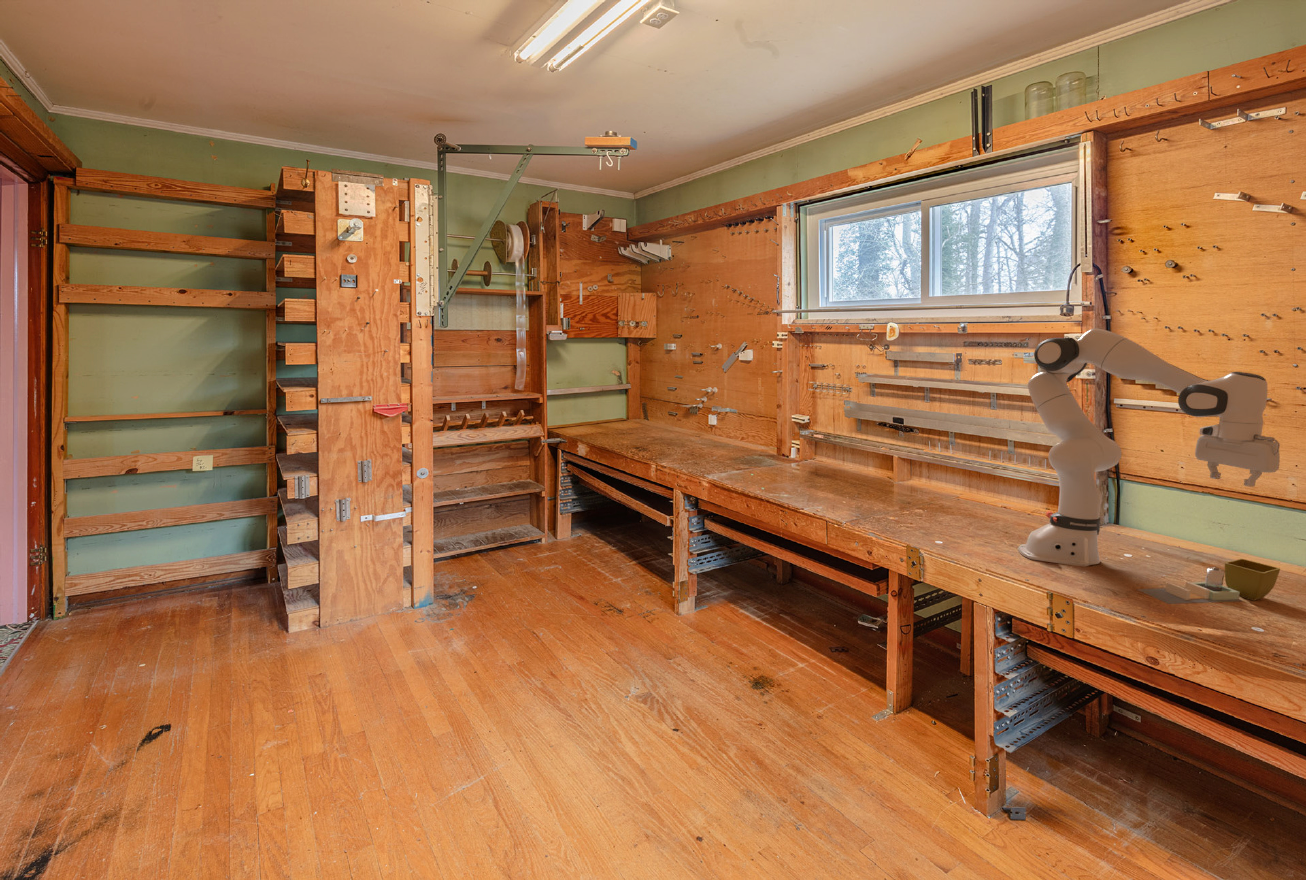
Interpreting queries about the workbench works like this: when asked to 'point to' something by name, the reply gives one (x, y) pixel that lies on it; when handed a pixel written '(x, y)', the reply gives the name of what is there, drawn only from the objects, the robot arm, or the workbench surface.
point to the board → (1174, 599)
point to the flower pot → (1250, 578)
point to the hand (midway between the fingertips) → (1231, 482)
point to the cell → (1214, 579)
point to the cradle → (1188, 591)
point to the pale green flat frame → (1221, 593)
